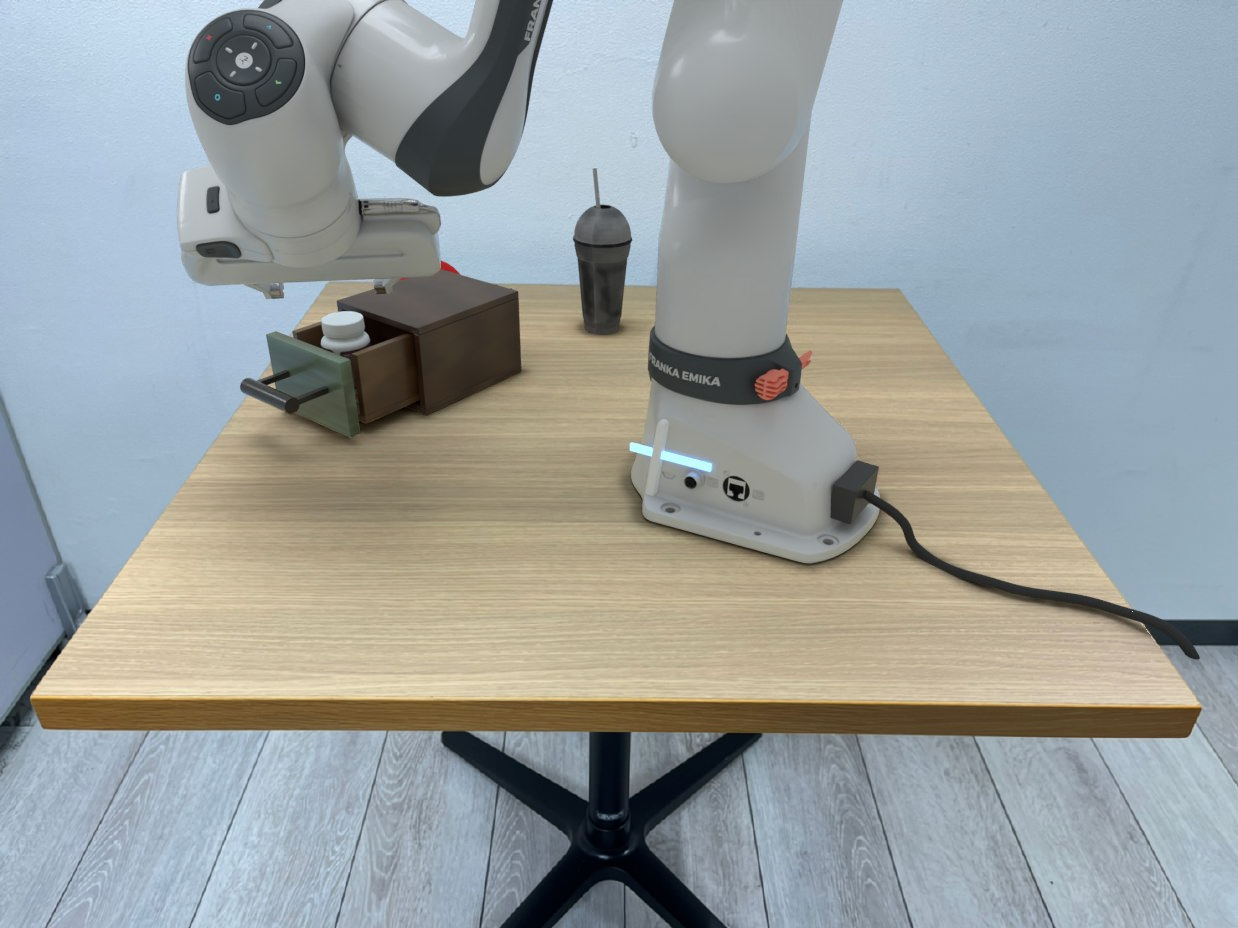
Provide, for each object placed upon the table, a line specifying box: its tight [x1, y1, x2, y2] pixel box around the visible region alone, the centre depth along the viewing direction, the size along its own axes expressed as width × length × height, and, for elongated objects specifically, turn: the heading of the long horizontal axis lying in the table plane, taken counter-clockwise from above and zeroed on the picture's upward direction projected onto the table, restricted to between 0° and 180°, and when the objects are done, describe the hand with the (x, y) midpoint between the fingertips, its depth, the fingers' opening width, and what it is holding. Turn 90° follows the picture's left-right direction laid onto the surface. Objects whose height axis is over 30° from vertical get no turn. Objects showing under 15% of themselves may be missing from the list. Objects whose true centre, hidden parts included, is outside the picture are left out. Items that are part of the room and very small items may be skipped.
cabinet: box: [336, 269, 522, 416], centre depth 100 cm, size 15×13×10 cm
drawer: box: [239, 316, 420, 439], centre depth 92 cm, size 18×11×8 cm, turn 143°
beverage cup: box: [572, 167, 633, 336], centre depth 112 cm, size 7×7×20 cm
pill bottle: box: [320, 311, 371, 404], centre depth 91 cm, size 5×5×8 cm
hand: (330, 289), depth 82 cm, fingers open, 8 cm apart
